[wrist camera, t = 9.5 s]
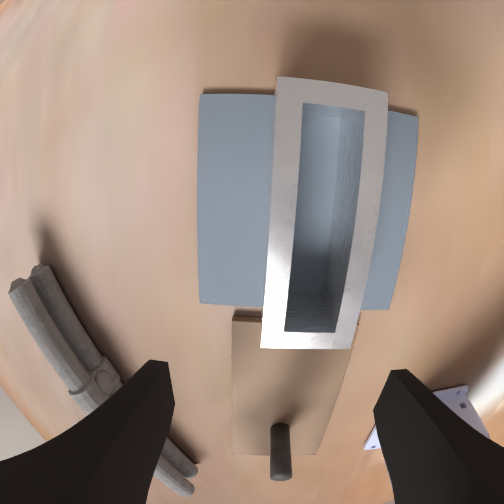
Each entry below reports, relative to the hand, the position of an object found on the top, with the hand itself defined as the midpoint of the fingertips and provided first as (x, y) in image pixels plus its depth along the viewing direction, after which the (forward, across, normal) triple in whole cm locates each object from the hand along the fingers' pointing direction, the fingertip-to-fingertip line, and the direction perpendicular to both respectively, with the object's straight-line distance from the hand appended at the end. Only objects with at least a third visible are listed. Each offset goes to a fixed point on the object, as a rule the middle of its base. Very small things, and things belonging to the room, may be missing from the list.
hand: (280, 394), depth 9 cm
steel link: (+9, -2, -4) cm, 10 cm away
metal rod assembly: (+10, +12, +12) cm, 20 cm away
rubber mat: (+9, -2, -4) cm, 10 cm away
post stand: (+9, -2, +11) cm, 15 cm away
